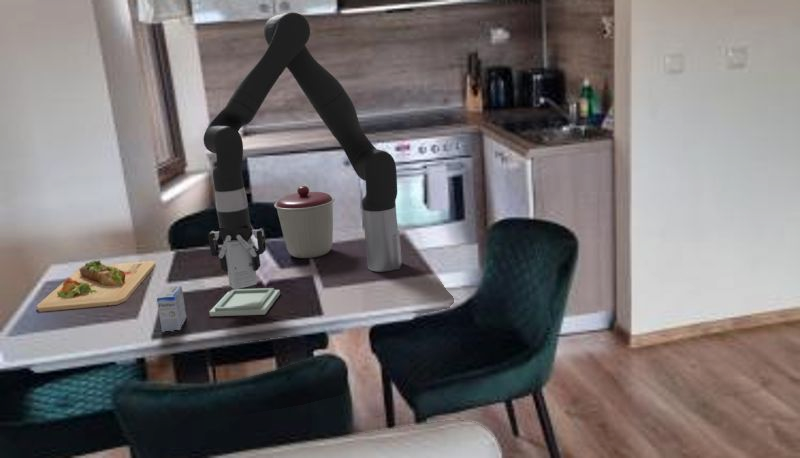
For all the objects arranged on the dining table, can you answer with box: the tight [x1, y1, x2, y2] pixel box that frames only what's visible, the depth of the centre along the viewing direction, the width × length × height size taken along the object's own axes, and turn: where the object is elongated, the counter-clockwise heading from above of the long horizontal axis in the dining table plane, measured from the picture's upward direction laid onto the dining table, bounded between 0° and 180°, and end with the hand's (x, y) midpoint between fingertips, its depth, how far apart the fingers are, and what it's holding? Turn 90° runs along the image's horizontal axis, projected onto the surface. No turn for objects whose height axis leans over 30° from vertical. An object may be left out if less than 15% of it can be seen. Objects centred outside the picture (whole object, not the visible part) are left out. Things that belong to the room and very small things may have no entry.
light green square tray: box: [208, 287, 281, 317], centre depth 192 cm, size 14×14×2 cm
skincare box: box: [222, 237, 258, 290], centre depth 190 cm, size 6×4×12 cm
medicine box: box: [156, 285, 187, 333], centre depth 182 cm, size 8×4×9 cm, turn 5°
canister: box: [273, 185, 336, 259], centre depth 229 cm, size 18×18×21 cm
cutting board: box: [36, 259, 156, 313], centre depth 217 cm, size 35×23×8 cm
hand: (241, 270), depth 190 cm, fingers closed on skincare box, 7 cm apart
